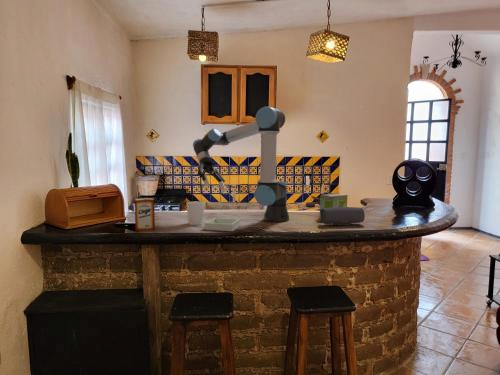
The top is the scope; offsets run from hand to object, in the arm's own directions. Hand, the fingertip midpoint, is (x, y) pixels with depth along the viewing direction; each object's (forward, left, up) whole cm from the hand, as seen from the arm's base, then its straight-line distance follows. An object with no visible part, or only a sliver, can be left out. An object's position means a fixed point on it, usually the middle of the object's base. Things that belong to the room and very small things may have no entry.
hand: (215, 188), depth 202 cm
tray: (-8, +11, -20) cm, 24 cm away
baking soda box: (+30, +25, -20) cm, 44 cm away
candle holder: (+10, +5, -20) cm, 23 cm away
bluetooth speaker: (-69, -13, -20) cm, 74 cm away
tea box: (-65, -33, -20) cm, 75 cm away
